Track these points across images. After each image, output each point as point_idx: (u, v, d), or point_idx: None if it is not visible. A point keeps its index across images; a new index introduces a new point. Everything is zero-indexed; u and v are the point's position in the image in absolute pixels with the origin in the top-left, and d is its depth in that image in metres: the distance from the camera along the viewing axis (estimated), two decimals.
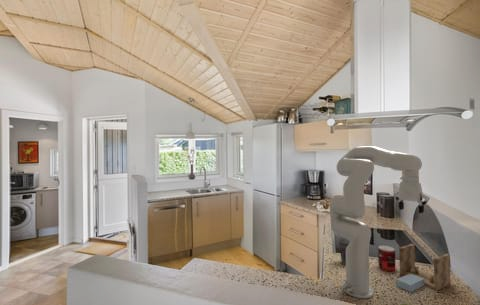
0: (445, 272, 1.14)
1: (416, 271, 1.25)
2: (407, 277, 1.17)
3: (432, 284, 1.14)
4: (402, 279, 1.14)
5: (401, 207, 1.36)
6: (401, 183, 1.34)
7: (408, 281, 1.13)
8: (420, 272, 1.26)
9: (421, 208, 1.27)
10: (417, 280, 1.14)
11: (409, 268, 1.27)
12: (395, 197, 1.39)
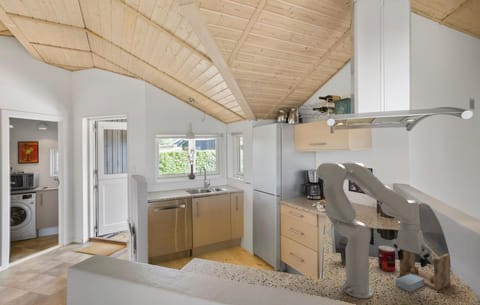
0: (445, 272, 1.14)
1: (416, 271, 1.25)
2: (407, 277, 1.17)
3: (432, 284, 1.14)
4: (402, 279, 1.14)
5: (400, 257, 1.19)
6: (400, 230, 1.17)
7: (408, 281, 1.13)
8: (420, 272, 1.26)
9: (423, 262, 1.10)
10: (417, 280, 1.13)
11: (409, 268, 1.27)
12: None
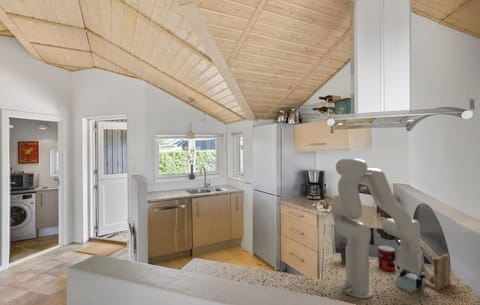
0: (445, 272, 1.14)
1: None
2: (408, 276, 1.17)
3: (432, 284, 1.14)
4: (402, 279, 1.14)
5: None
6: (400, 249, 1.17)
7: (408, 280, 1.13)
8: None
9: (419, 283, 1.11)
10: None
11: None
12: (396, 266, 1.20)
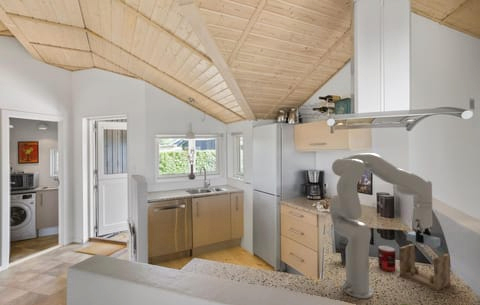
0: (445, 272, 1.14)
1: (416, 271, 1.25)
2: (426, 235, 1.21)
3: (432, 284, 1.14)
4: None
5: None
6: None
7: (415, 234, 1.23)
8: (420, 272, 1.26)
9: (417, 236, 1.20)
10: None
11: (409, 268, 1.27)
12: None
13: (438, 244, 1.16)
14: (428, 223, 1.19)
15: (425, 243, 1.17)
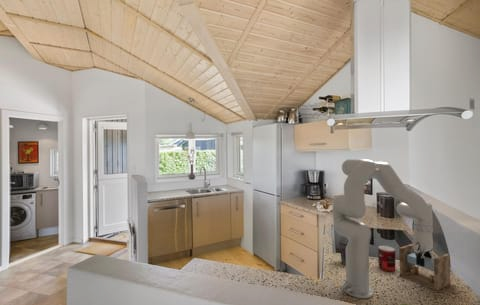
0: (445, 272, 1.14)
1: (416, 271, 1.25)
2: (427, 258, 1.21)
3: (432, 284, 1.14)
4: None
5: None
6: None
7: (415, 256, 1.23)
8: (420, 272, 1.26)
9: None
10: (424, 260, 1.19)
11: (409, 268, 1.27)
12: None
13: None
14: (429, 246, 1.19)
15: (426, 266, 1.17)
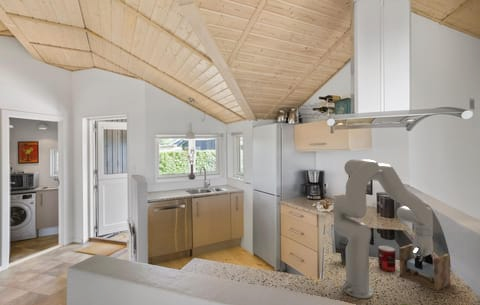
0: (445, 272, 1.14)
1: (416, 271, 1.25)
2: (426, 264, 1.21)
3: (432, 284, 1.14)
4: None
5: (426, 261, 1.23)
6: None
7: None
8: None
9: (415, 262, 1.19)
10: (423, 266, 1.18)
11: None
12: None
13: None
14: (429, 250, 1.19)
15: (425, 272, 1.17)
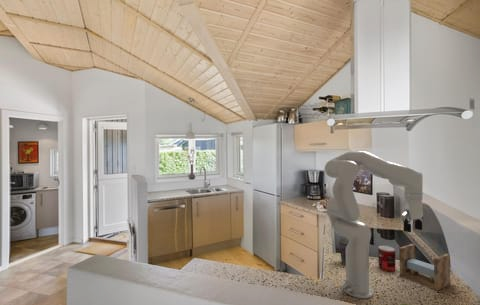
0: (445, 272, 1.14)
1: (416, 271, 1.25)
2: (426, 264, 1.21)
3: (432, 284, 1.14)
4: (416, 260, 1.25)
5: (416, 226, 1.25)
6: None
7: (415, 262, 1.23)
8: None
9: (404, 226, 1.20)
10: (423, 266, 1.18)
11: None
12: None
13: None
14: (418, 214, 1.20)
15: (425, 272, 1.17)
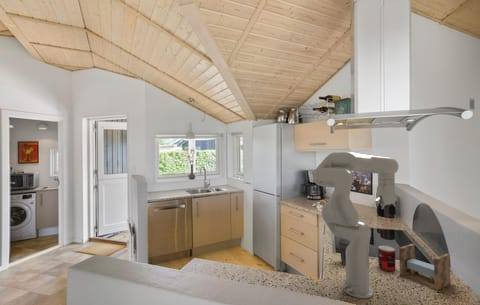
0: (445, 272, 1.14)
1: (416, 271, 1.25)
2: (426, 264, 1.21)
3: (432, 284, 1.14)
4: (416, 260, 1.25)
5: (390, 211, 1.30)
6: None
7: (415, 262, 1.23)
8: None
9: None
10: (423, 266, 1.18)
11: None
12: None
13: None
14: (391, 200, 1.25)
15: (425, 272, 1.17)
